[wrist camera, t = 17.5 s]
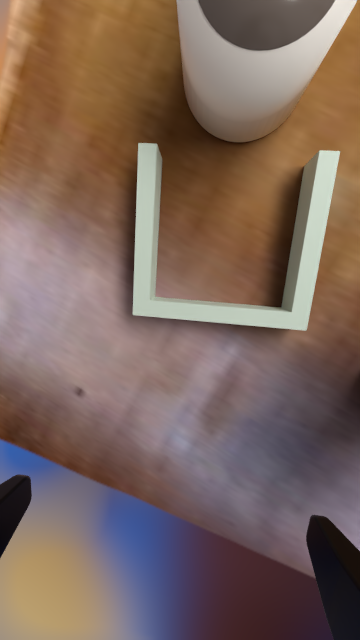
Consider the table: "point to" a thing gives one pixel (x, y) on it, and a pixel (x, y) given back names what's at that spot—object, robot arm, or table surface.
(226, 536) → the table surface
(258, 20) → the saucepan
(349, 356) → the table surface
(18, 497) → the robot arm
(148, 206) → the u-shaped frame
